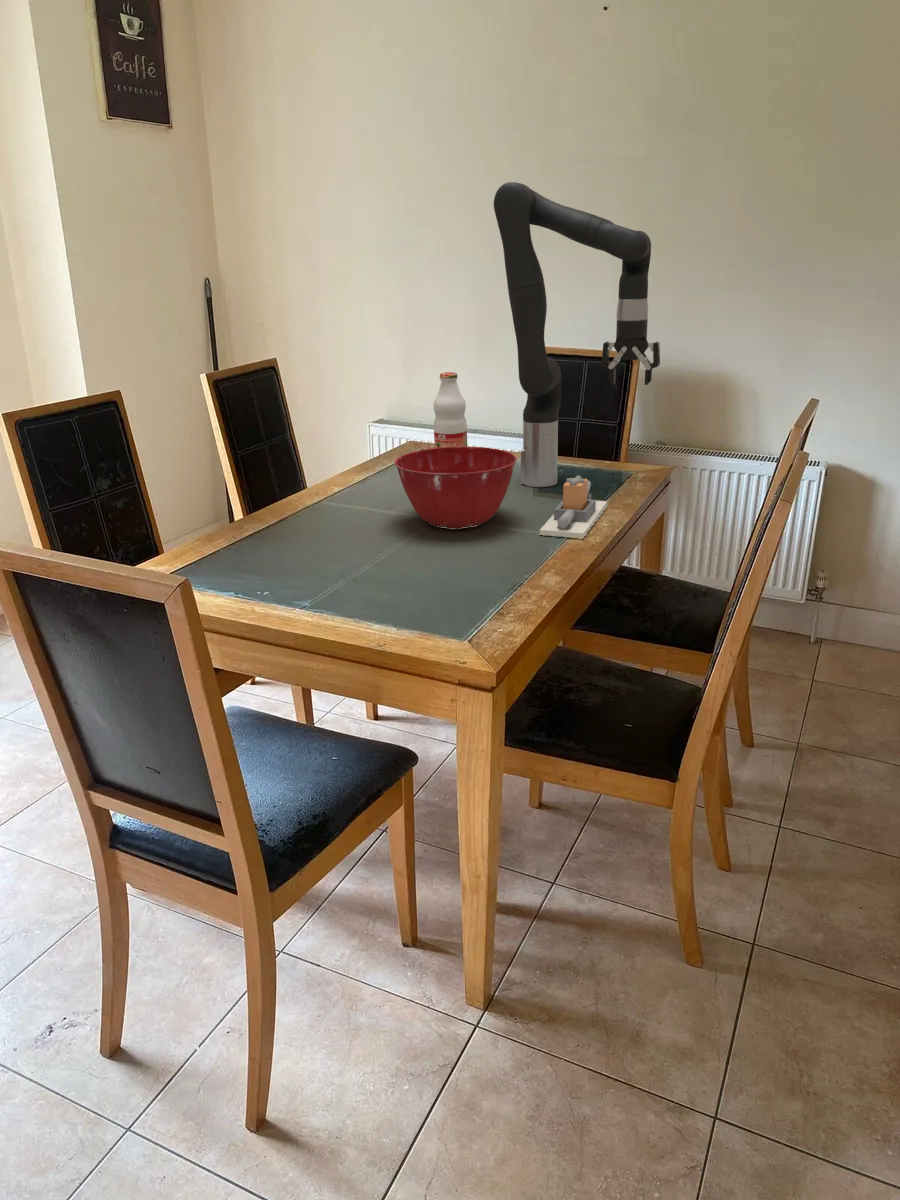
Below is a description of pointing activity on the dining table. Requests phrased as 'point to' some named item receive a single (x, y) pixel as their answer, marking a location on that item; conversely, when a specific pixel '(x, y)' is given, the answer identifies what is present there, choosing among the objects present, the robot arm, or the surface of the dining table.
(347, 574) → the dining table surface
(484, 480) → the mixing bowl
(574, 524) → the shaft rig
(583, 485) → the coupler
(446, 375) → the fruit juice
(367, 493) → the dining table surface
